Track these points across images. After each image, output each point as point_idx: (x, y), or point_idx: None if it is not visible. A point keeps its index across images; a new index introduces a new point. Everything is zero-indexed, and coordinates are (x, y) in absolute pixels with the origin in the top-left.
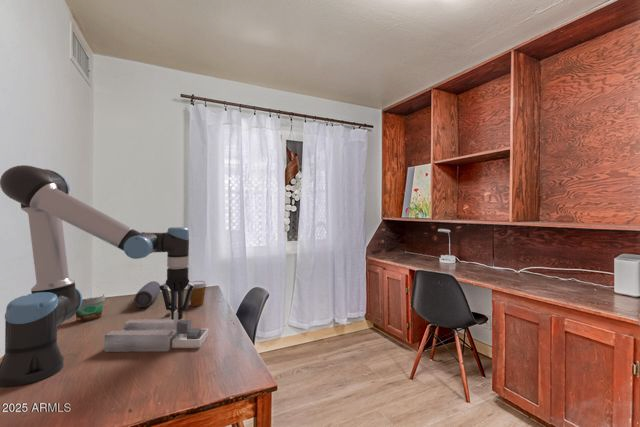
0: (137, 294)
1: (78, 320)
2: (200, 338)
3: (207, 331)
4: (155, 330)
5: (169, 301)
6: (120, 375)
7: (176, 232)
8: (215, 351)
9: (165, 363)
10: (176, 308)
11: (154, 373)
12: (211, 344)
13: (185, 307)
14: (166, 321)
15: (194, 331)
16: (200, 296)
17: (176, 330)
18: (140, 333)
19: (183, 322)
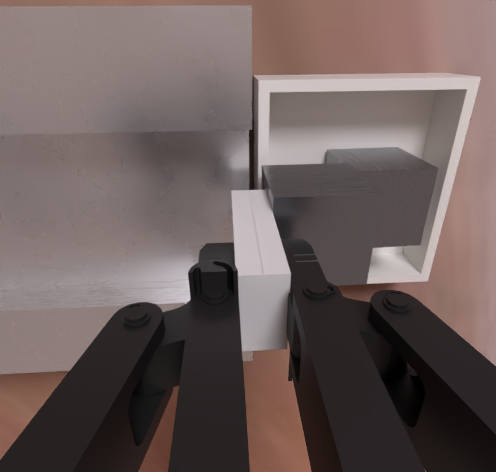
0: None
1: None
2: (428, 262)
3: (464, 112)
4: (58, 188)
5: (121, 439)
6: (162, 448)
7: None
8: (486, 287)
9: (284, 383)
10: (238, 296)
11: (274, 434)
12: (466, 211)
13: (404, 386)
14: (73, 91)
15: (394, 232)
16: None
17: (235, 184)
18: (45, 352)
19: (324, 264)
